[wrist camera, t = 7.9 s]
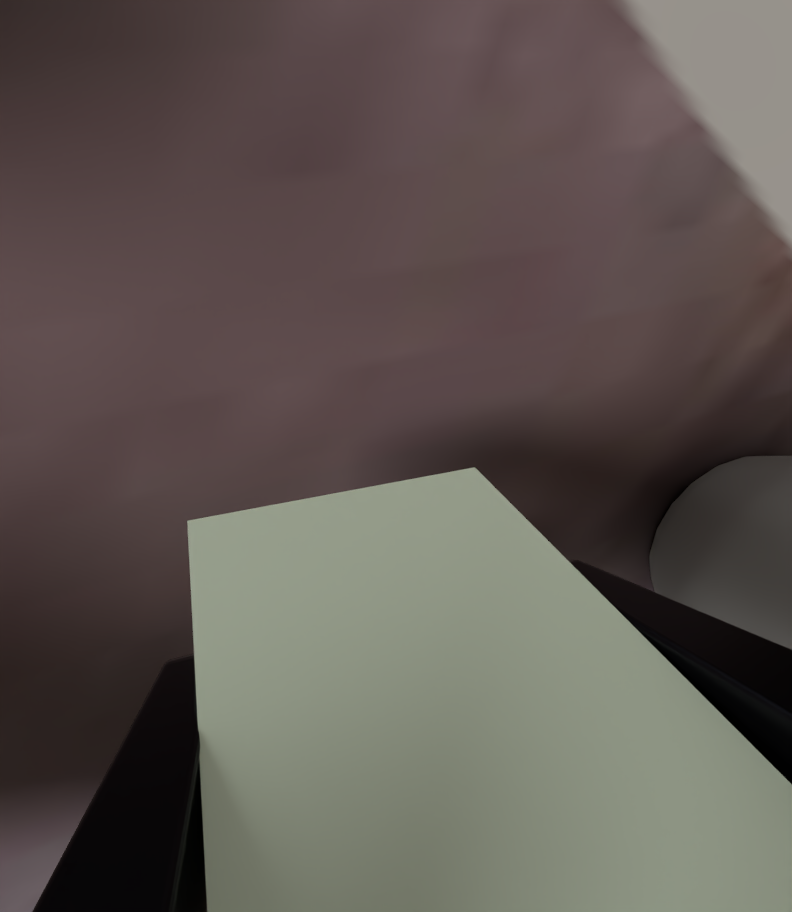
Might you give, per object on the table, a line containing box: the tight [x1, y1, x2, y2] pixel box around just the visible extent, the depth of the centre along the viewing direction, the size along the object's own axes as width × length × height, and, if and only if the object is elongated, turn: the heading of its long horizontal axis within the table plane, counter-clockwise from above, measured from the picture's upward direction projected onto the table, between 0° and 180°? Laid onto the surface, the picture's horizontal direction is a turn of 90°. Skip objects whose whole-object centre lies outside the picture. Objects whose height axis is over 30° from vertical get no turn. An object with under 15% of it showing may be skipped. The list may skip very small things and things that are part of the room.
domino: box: [187, 467, 792, 912], centre depth 7 cm, size 2×5×8 cm, turn 91°
